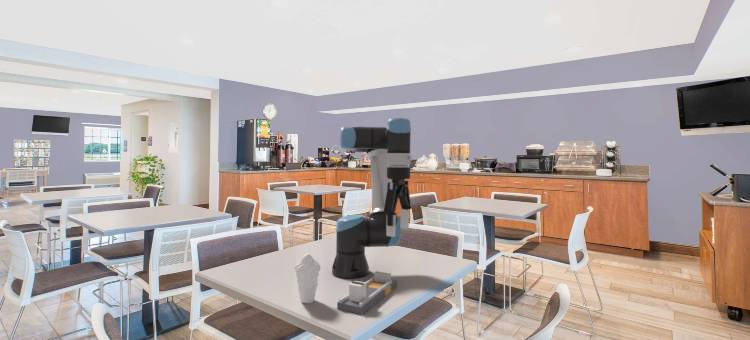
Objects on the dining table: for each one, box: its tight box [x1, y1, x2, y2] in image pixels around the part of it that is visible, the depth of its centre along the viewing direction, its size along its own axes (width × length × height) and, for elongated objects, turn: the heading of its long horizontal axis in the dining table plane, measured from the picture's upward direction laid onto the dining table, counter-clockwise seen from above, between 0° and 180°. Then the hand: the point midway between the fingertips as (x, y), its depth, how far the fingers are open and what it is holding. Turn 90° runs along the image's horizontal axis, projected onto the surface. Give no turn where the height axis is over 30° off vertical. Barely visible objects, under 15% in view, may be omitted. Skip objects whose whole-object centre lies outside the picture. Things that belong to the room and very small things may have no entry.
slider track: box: [336, 271, 398, 315], centre depth 123 cm, size 9×27×5 cm, turn 154°
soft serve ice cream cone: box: [294, 252, 321, 304], centre depth 118 cm, size 8×8×16 cm
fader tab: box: [348, 280, 366, 302], centre depth 115 cm, size 4×4×5 cm
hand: (398, 232), depth 117 cm, fingers open, 13 cm apart
